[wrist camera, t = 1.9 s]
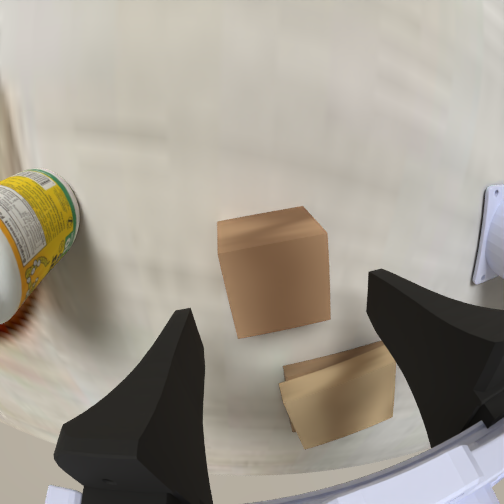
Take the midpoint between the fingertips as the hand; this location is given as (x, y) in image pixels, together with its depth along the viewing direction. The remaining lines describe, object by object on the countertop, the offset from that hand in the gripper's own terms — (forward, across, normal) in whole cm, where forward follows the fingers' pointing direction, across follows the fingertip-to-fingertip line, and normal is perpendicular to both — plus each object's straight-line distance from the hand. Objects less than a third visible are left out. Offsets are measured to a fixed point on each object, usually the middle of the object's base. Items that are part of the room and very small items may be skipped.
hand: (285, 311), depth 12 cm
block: (+6, 0, 0) cm, 6 cm away
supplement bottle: (+6, +12, -5) cm, 14 cm away
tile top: (+4, -4, +13) cm, 14 cm away
